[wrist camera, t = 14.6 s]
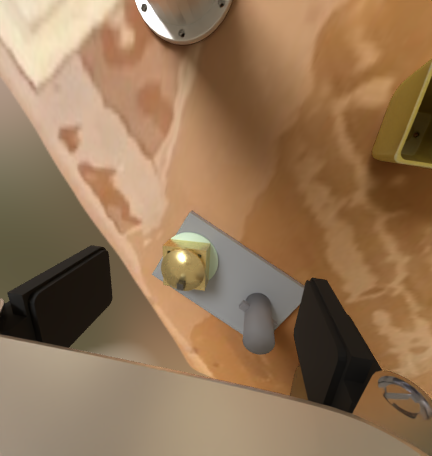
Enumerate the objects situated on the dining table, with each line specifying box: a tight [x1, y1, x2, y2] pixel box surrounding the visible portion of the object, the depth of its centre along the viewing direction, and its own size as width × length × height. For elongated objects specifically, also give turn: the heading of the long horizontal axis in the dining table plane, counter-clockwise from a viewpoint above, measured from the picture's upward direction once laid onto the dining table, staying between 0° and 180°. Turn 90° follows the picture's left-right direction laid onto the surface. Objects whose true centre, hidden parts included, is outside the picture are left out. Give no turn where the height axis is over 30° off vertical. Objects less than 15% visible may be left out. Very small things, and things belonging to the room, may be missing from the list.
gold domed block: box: [161, 239, 210, 291], centre depth 33 cm, size 6×6×5 cm
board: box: [152, 211, 305, 354], centre depth 32 cm, size 22×13×9 cm, turn 58°
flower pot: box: [372, 59, 432, 169], centre depth 23 cm, size 9×9×9 cm
